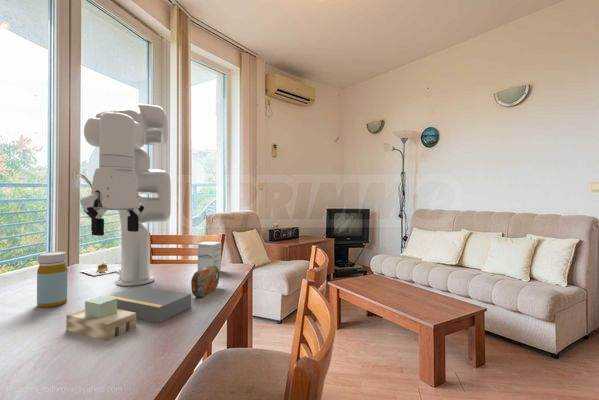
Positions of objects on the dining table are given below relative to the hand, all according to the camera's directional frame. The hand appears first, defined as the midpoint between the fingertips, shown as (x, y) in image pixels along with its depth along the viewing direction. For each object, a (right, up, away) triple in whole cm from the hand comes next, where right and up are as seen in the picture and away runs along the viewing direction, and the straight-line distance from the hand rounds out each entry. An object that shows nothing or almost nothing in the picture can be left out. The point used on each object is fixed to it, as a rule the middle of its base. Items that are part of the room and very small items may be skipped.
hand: (116, 233), depth 77 cm
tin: (+14, -23, +28) cm, 39 cm away
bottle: (-28, -23, +15) cm, 39 cm away
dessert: (-37, -23, +53) cm, 68 cm away
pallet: (-3, -24, -1) cm, 24 cm away
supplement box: (+7, -23, +55) cm, 60 cm away
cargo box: (-3, -20, -1) cm, 20 cm away
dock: (+2, -23, +12) cm, 26 cm away
